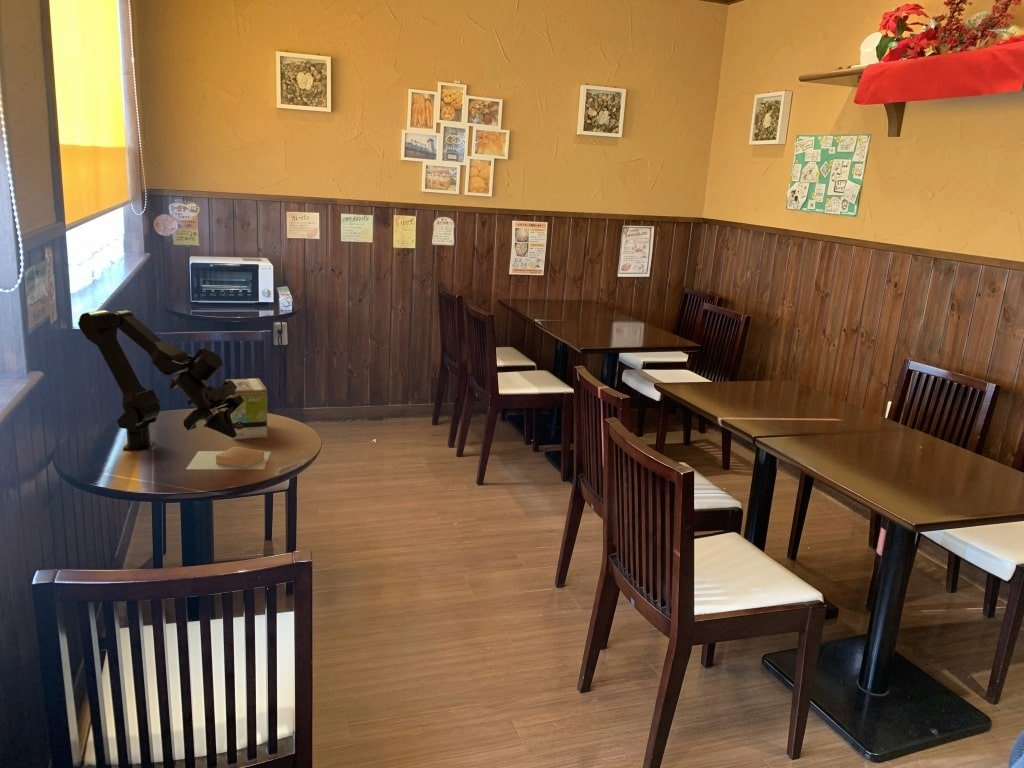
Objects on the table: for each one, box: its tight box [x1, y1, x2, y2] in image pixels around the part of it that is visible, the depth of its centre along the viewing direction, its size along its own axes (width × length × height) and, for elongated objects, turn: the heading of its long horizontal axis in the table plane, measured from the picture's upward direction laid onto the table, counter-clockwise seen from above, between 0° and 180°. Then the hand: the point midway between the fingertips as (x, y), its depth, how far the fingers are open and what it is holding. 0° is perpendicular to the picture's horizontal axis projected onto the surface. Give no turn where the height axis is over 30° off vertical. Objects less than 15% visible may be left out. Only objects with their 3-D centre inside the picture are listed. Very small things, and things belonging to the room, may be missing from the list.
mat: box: [185, 450, 272, 470], centre depth 204 cm, size 14×19×1 cm
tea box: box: [225, 377, 268, 440], centre depth 227 cm, size 15×10×15 cm
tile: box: [216, 446, 265, 470], centre depth 203 cm, size 2×8×9 cm
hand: (235, 436), depth 202 cm, fingers closed
